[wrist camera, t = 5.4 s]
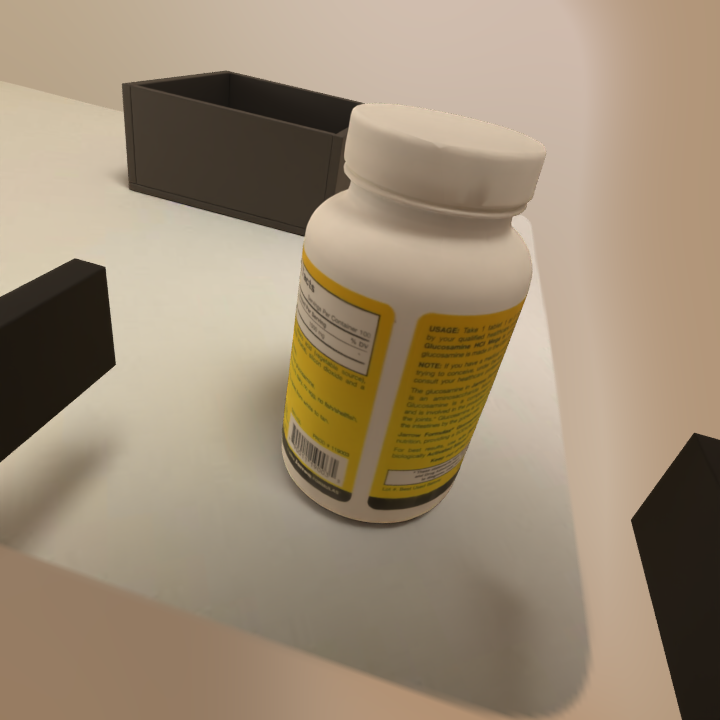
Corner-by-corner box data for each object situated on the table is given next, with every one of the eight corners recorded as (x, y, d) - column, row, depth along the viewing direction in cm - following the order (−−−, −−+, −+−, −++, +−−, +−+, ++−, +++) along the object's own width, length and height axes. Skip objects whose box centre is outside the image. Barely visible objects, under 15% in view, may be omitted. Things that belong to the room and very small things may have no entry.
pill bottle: (452, 422, 21) (560, 130, 15) (452, 552, 16) (615, 188, 10) (302, 386, 21) (346, 84, 15) (253, 503, 16) (289, 115, 10)
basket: (374, 189, 46) (389, 109, 42) (327, 242, 34) (343, 137, 30) (223, 151, 47) (225, 70, 43) (128, 189, 35) (121, 83, 32)
